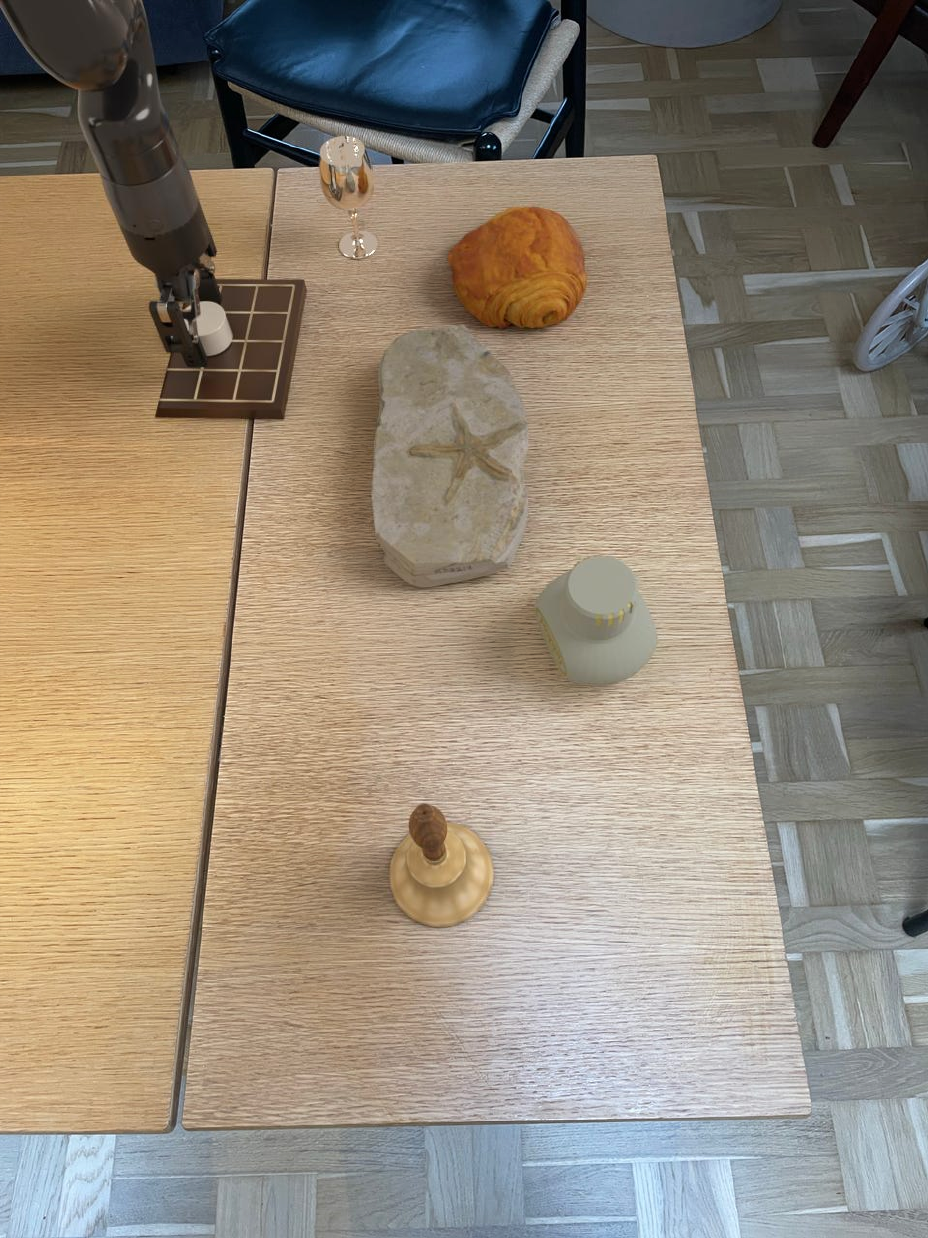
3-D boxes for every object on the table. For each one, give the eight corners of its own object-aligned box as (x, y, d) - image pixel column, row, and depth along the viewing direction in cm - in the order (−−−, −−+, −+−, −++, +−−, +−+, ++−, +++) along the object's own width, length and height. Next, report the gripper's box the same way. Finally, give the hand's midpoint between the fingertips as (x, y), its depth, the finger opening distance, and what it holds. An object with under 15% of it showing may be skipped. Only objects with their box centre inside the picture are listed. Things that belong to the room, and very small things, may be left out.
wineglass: (366, 269, 109) (350, 176, 98) (323, 252, 110) (303, 158, 100) (393, 236, 111) (380, 142, 100) (351, 220, 113) (334, 125, 102)
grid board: (111, 416, 101) (105, 406, 99) (147, 288, 109) (142, 277, 108) (284, 419, 100) (280, 409, 98) (306, 289, 108) (304, 278, 106)
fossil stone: (383, 357, 103) (377, 320, 98) (523, 353, 102) (524, 315, 98) (372, 589, 90) (364, 559, 85) (532, 586, 89) (533, 556, 85)
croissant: (567, 245, 112) (571, 178, 106) (595, 331, 103) (602, 264, 97) (442, 258, 112) (438, 192, 105) (459, 346, 102) (456, 279, 96)
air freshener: (525, 606, 88) (526, 547, 80) (608, 575, 90) (619, 514, 81) (574, 710, 84) (582, 660, 75) (662, 676, 85) (680, 624, 76)
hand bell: (367, 878, 78) (335, 822, 64) (438, 801, 80) (422, 731, 66) (444, 950, 75) (429, 908, 61) (515, 868, 78) (516, 810, 64)
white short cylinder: (183, 356, 102) (174, 335, 99) (191, 321, 104) (183, 300, 102) (228, 356, 102) (221, 335, 99) (236, 322, 104) (228, 300, 101)
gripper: (131, 149, 91) (182, 283, 105) (96, 259, 85) (156, 386, 99) (210, 149, 91) (251, 284, 105) (181, 260, 84) (229, 387, 98)
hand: (205, 333), depth 102 cm, fingers open, 8 cm apart
